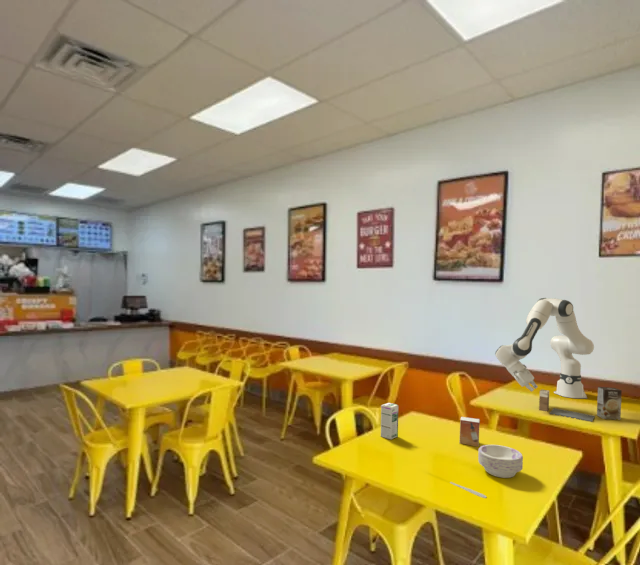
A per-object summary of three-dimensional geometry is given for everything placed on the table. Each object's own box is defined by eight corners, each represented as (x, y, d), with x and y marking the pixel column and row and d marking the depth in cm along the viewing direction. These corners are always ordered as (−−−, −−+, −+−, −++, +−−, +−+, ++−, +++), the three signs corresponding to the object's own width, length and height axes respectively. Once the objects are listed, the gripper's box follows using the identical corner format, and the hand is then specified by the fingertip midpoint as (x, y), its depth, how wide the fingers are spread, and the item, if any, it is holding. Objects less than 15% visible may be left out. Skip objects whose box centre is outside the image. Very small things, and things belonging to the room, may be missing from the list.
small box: (459, 443, 184) (460, 419, 184) (460, 439, 189) (460, 416, 189) (478, 446, 181) (479, 422, 181) (478, 442, 186) (479, 418, 186)
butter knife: (483, 498, 136) (487, 495, 138) (415, 470, 156) (419, 467, 158) (483, 500, 136) (487, 497, 138) (415, 471, 156) (419, 469, 158)
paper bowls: (473, 462, 165) (473, 442, 165) (513, 465, 163) (514, 445, 163) (484, 480, 149) (485, 458, 149) (529, 483, 148) (529, 461, 148)
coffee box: (603, 418, 227) (603, 389, 227) (596, 415, 234) (597, 386, 234) (621, 420, 226) (621, 390, 227) (614, 416, 233) (614, 387, 233)
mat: (553, 409, 243) (553, 408, 243) (594, 416, 231) (594, 415, 231) (549, 413, 234) (549, 412, 234) (592, 421, 221) (592, 420, 221)
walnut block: (541, 408, 244) (541, 389, 244) (548, 409, 242) (549, 390, 242) (539, 410, 240) (539, 390, 240) (546, 411, 238) (547, 392, 238)
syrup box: (391, 439, 186) (392, 407, 186) (380, 436, 190) (381, 404, 190) (398, 436, 190) (399, 404, 190) (387, 433, 194) (388, 402, 194)
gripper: (516, 369, 241) (535, 389, 235) (525, 364, 257) (542, 383, 251) (508, 375, 244) (526, 395, 238) (517, 370, 260) (534, 389, 254)
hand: (534, 389), depth 244 cm, fingers open, 8 cm apart
